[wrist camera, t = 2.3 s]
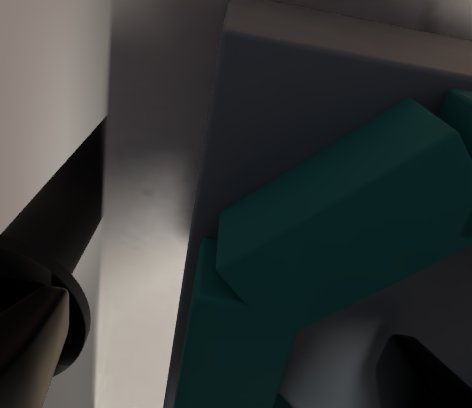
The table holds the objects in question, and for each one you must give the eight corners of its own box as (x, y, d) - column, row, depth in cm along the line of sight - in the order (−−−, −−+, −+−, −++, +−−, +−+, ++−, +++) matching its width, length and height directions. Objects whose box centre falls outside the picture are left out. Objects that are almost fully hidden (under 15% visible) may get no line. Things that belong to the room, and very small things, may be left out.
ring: (163, 463, 10) (151, 541, 9) (233, 46, 6) (232, 69, 5) (538, 504, 11) (581, 581, 10) (844, 161, 7) (1003, 211, 5)
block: (191, 240, 19) (153, 467, 11) (230, -8, 15) (221, 27, 6) (408, 273, 20) (541, 509, 11) (509, 48, 16) (866, 151, 7)
